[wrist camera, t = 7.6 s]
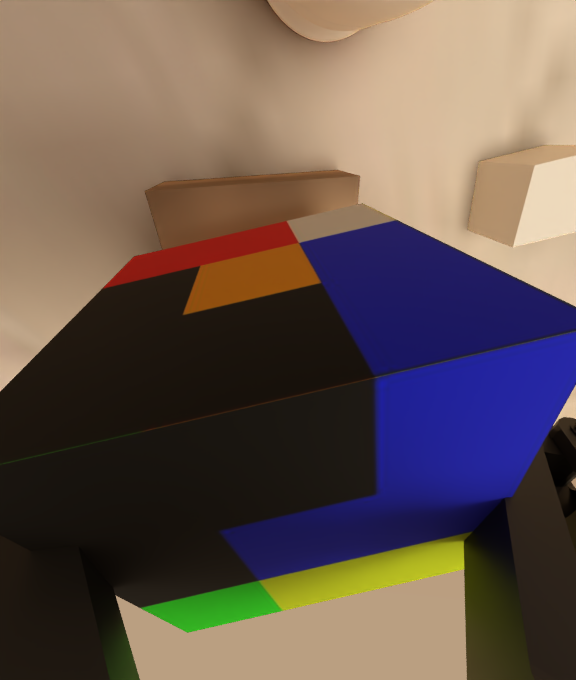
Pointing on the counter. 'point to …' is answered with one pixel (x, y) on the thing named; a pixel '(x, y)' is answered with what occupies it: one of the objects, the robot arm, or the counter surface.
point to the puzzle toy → (283, 416)
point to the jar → (339, 15)
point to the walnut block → (244, 203)
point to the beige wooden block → (526, 195)
